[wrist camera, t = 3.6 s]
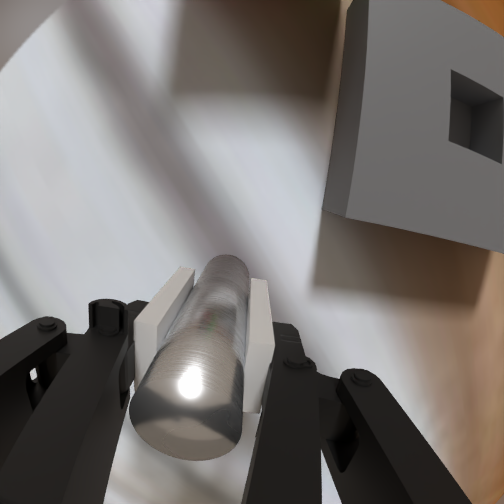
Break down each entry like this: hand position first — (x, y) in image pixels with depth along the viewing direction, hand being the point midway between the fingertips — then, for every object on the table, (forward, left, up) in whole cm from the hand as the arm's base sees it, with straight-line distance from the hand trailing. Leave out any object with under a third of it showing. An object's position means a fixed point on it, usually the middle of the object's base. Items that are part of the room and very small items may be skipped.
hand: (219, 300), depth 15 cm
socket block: (+12, +12, -4) cm, 17 cm away
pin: (0, 0, -4) cm, 4 cm away
